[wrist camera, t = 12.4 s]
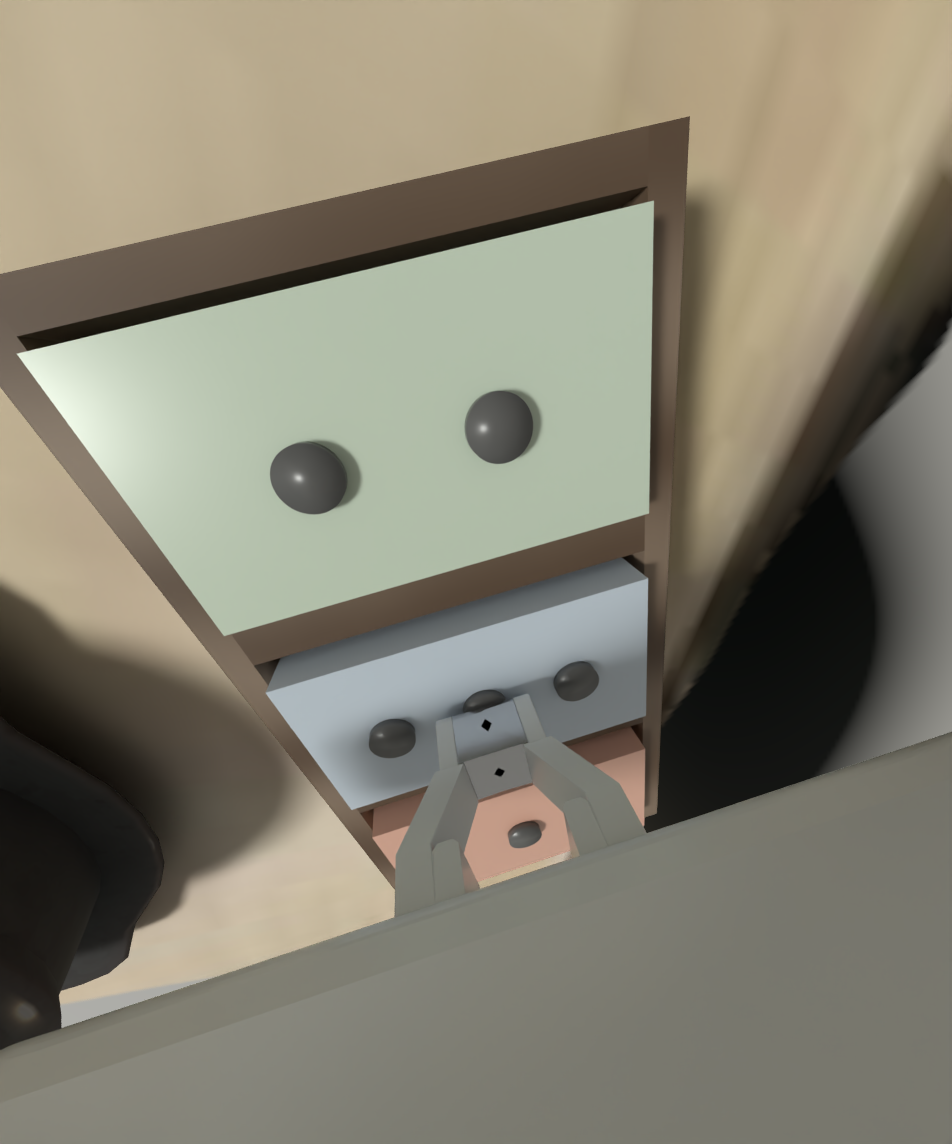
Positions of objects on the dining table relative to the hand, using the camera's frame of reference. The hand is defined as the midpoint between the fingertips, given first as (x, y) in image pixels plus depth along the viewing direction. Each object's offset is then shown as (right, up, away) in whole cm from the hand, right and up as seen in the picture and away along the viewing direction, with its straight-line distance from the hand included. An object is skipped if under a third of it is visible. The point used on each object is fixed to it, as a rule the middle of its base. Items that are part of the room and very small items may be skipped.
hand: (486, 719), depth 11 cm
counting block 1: (-2, +9, -1) cm, 9 cm away
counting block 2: (-1, +2, +3) cm, 4 cm away
